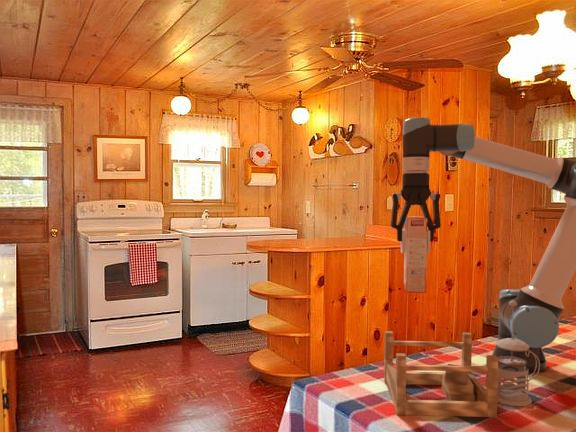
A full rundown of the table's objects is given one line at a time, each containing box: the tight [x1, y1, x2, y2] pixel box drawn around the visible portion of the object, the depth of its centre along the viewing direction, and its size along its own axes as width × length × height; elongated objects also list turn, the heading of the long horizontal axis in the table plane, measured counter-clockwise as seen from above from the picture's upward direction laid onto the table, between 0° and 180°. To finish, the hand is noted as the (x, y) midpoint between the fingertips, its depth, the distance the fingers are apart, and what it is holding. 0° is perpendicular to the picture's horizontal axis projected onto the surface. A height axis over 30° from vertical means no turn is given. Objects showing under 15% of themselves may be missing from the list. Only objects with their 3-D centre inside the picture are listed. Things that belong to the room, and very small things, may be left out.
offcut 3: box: [441, 383, 476, 401], centre depth 133 cm, size 6×9×2 cm, turn 176°
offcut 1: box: [444, 363, 468, 385], centre depth 133 cm, size 5×7×2 cm
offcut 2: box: [442, 373, 473, 395], centre depth 133 cm, size 6×8×2 cm
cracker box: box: [403, 215, 428, 294], centre depth 150 cm, size 14×6×21 cm, turn 170°
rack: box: [383, 330, 498, 418], centre depth 132 cm, size 23×22×14 cm
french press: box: [494, 301, 540, 407], centre depth 132 cm, size 10×12×25 cm
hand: (415, 252), depth 150 cm, fingers closed on cracker box, 6 cm apart
